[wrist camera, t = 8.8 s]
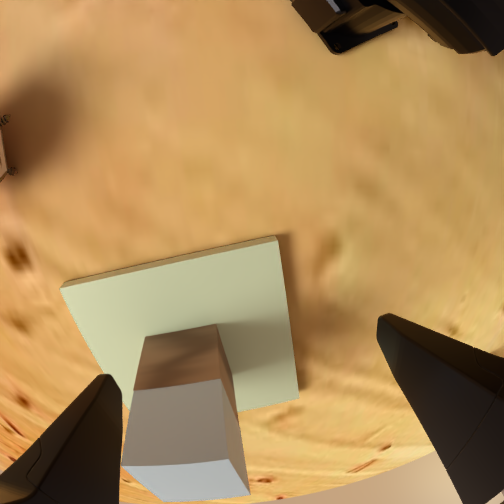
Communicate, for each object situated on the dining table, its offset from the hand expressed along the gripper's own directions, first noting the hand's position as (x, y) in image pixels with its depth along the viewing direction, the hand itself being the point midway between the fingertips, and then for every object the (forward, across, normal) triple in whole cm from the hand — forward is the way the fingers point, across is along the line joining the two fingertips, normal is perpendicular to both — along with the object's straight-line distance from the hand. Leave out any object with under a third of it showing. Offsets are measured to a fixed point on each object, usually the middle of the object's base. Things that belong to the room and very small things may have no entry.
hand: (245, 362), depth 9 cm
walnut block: (+11, +5, +9) cm, 15 cm away
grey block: (+6, +5, +9) cm, 11 cm away
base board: (+12, +5, +9) cm, 16 cm away
